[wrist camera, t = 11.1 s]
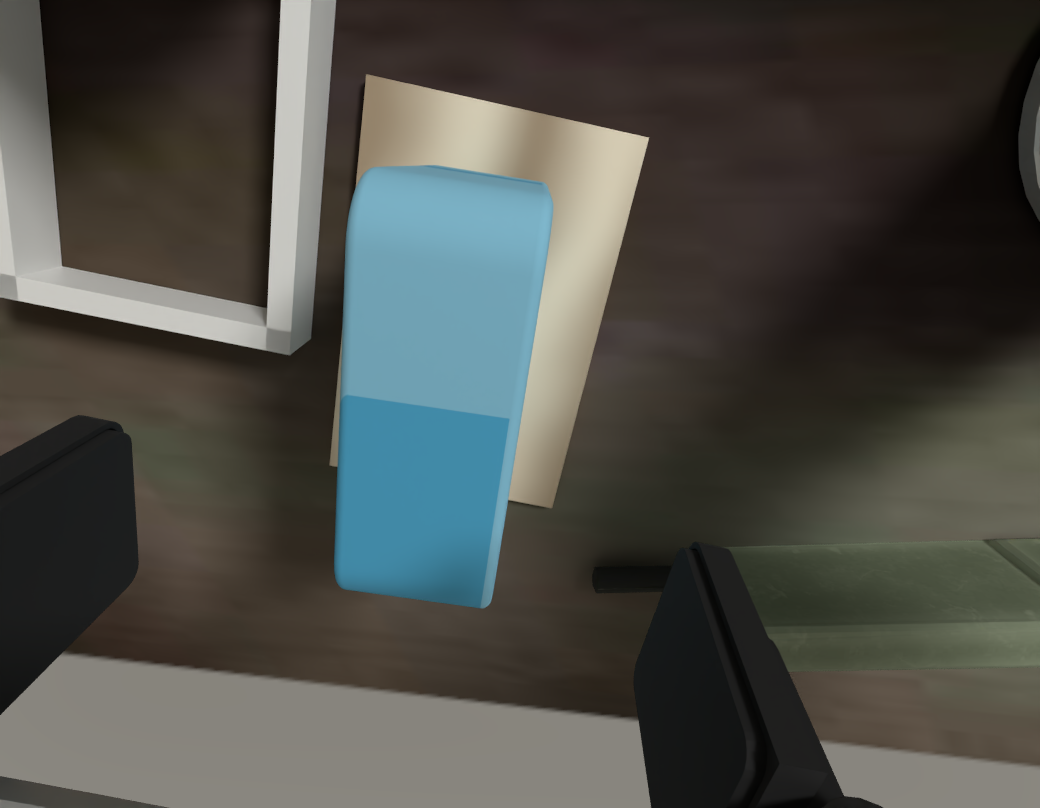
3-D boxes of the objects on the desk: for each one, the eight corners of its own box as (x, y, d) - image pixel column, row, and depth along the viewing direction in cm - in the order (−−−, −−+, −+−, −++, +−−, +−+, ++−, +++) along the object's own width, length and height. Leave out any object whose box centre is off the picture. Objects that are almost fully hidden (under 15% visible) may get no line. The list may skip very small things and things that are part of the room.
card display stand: (348, -163, 20) (12, -730, 7) (310, 338, 27) (101, 501, 14) (-41, -257, 20) (-1150, -1058, 7) (20, 279, 26) (-479, 393, 13)
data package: (436, 163, 24) (345, 164, 13) (548, 181, 24) (557, 198, 13) (412, 435, 28) (329, 613, 17) (507, 449, 28) (486, 634, 17)
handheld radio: (1074, 580, 31) (590, 592, 32) (1091, 525, 30) (590, 539, 31) (1209, 679, 25) (603, 689, 26) (1237, 614, 24) (603, 627, 25)
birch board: (646, 138, 24) (648, 137, 23) (551, 503, 30) (551, 508, 29) (369, 76, 23) (366, 74, 23) (332, 460, 29) (329, 465, 29)
